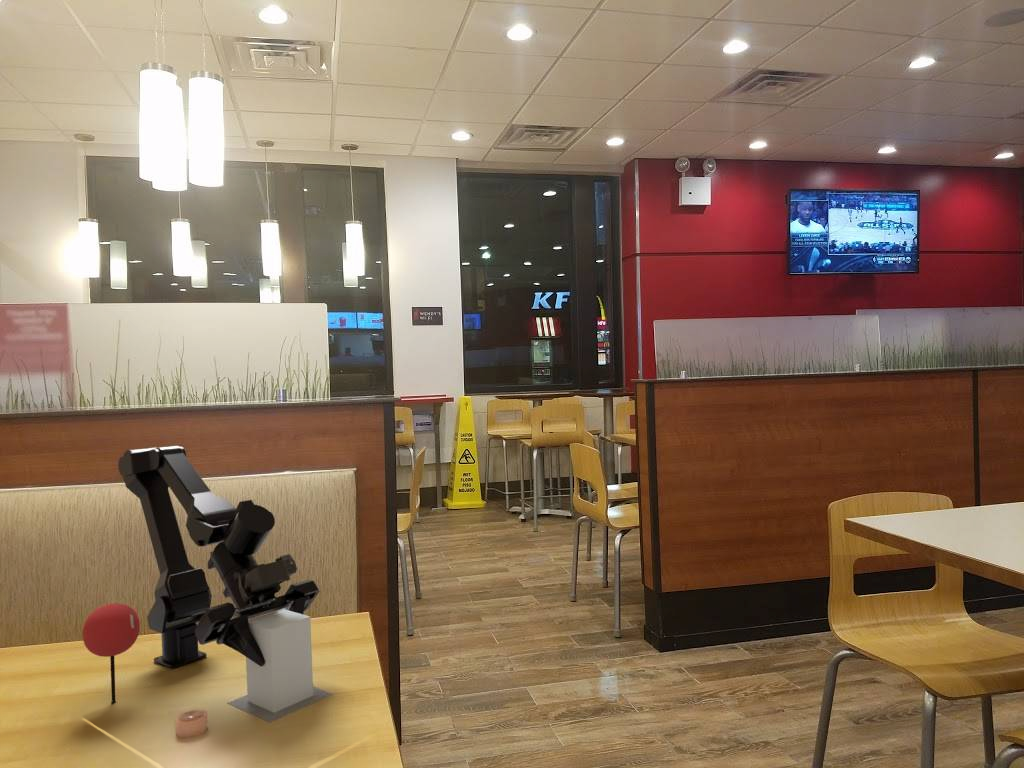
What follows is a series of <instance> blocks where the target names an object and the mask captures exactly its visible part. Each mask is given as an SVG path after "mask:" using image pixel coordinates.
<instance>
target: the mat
mask: <svg viewBox="0 0 1024 768" xmlns="http://www.w3.org/2000/svg"><path fill="white" fill-rule="evenodd" d="M332 695H334V693H333V692H330V691H326V690H324V689H321V688H319V687H316V686H314V685H313V696H311V697H309V698H307V699H304V700H302V701H300V702H298V703H295V704H293V705H291V706H288V707H286V708H284V709H282V710H279V711H277V712H275V713H274V712H271V711H269V710H267V709H264V708H262V707H260V706H258V705H255V704H253V703H251V702H248V696H247V694H246V695H244V696H242V697H239V698H236V699H234V700H231V701H228V702H227V704H228V705H230V706H232V707H235V708H237V709H239V710H241V711H243V712H246V713H247V714H250V715H252V716H254V717H256V718H258V719H261V720H263V721H265V722H268V723H272V722H275V721H277V720H279V719H280V718H284V717H286V716H288V715H290V714H292V713H295V712H297V711H299V710H301V709H303V708H305V707H308V706H310V705H313V704H314V703H317V702H319V701H321V700H323V699H326V698H329V697H330V696H332Z"/></svg>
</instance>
